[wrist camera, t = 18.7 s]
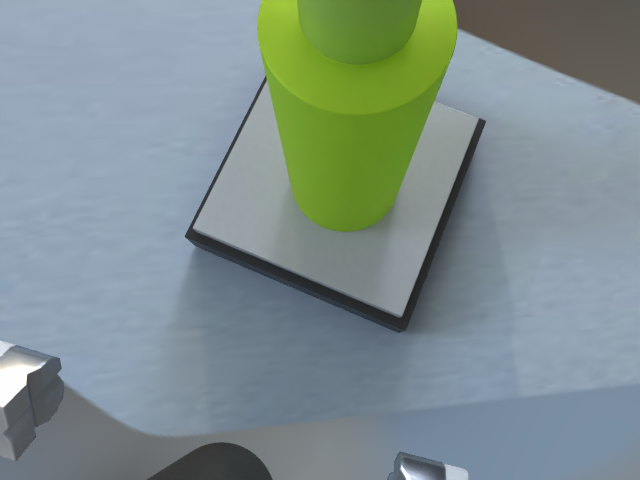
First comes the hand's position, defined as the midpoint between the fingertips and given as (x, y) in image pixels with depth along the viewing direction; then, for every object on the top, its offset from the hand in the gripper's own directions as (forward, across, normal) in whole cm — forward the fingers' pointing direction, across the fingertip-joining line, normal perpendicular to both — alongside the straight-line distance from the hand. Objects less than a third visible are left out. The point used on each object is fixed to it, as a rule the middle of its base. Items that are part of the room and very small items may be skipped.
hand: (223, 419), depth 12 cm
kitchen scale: (+20, 0, +3) cm, 20 cm away
